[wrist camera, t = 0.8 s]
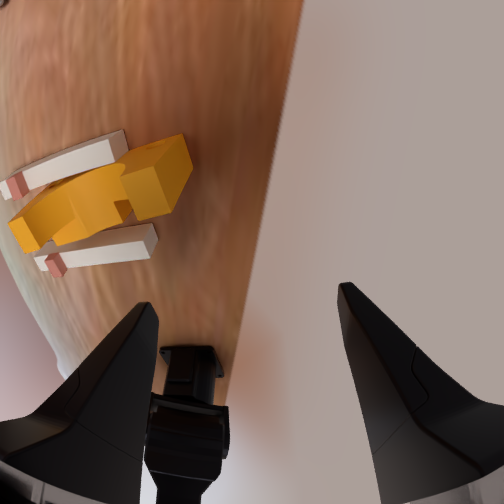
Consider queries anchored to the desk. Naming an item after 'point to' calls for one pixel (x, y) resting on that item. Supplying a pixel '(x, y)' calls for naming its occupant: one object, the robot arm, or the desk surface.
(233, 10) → the desk surface
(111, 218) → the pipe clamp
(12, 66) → the desk surface
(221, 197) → the desk surface
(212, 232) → the desk surface
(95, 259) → the guide channel
